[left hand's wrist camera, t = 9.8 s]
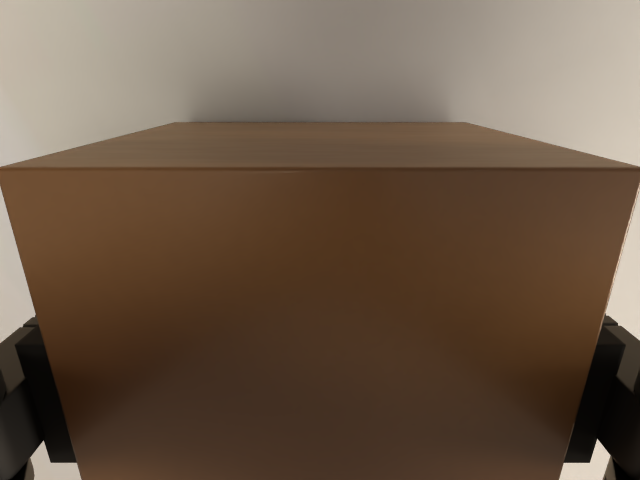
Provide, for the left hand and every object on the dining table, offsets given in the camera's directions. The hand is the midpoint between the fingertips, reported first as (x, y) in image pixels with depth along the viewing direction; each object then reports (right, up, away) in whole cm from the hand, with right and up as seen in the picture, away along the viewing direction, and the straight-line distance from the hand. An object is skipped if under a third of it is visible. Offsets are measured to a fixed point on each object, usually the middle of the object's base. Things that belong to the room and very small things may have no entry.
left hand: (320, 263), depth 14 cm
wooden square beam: (0, -20, +8) cm, 22 cm away
